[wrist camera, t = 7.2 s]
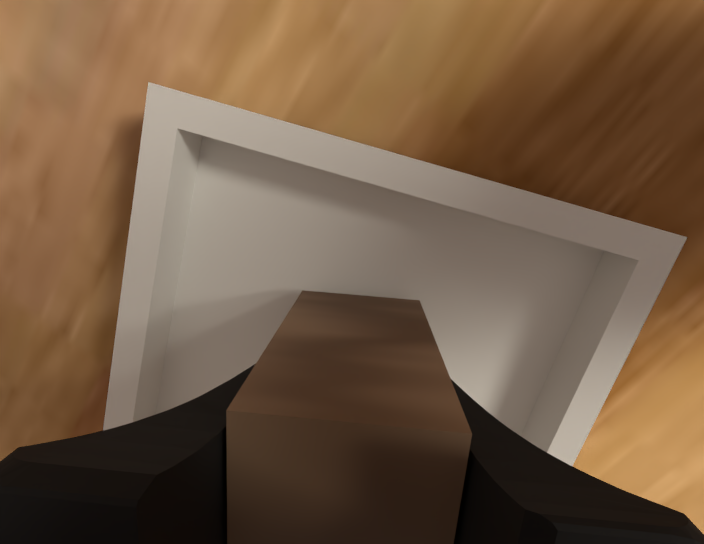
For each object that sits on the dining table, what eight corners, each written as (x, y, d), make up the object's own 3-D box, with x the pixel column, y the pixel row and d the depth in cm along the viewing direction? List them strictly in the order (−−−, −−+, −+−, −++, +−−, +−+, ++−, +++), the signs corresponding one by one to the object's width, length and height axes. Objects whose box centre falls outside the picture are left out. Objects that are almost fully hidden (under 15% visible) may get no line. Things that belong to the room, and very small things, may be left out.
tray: (630, 226, 13) (687, 237, 11) (489, 532, 17) (508, 591, 14) (189, 100, 13) (148, 82, 11) (136, 435, 17) (96, 480, 14)
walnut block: (419, 300, 13) (472, 434, 6) (407, 405, 14) (440, 621, 7) (302, 290, 13) (226, 410, 6) (297, 394, 14) (228, 597, 7)
